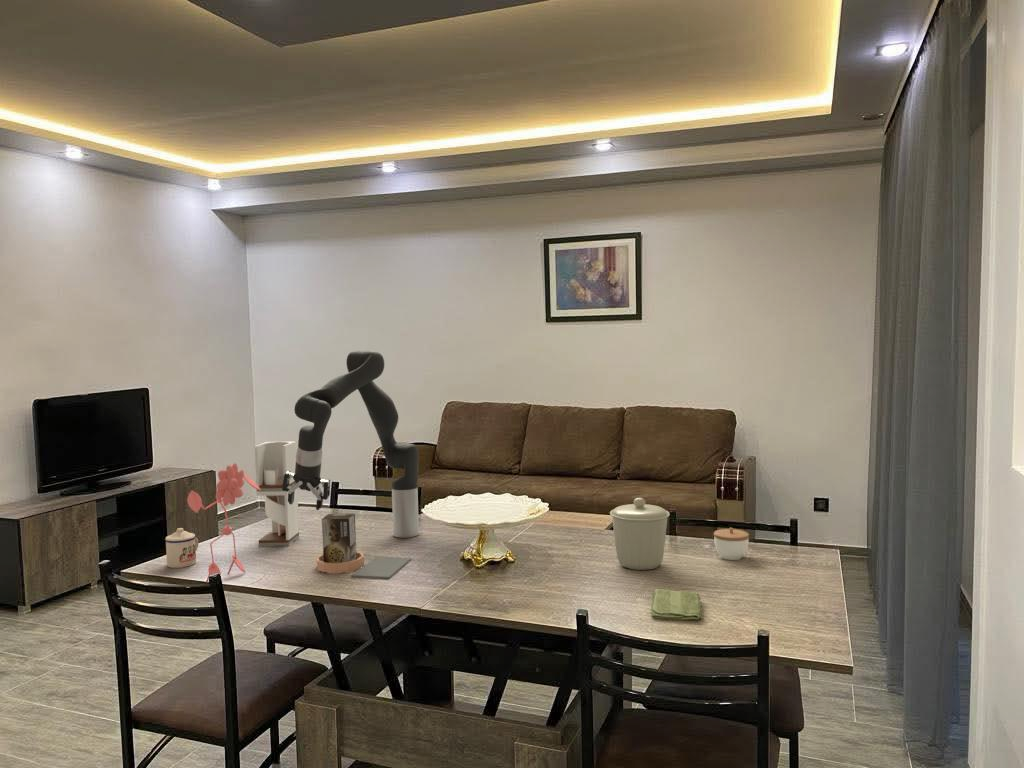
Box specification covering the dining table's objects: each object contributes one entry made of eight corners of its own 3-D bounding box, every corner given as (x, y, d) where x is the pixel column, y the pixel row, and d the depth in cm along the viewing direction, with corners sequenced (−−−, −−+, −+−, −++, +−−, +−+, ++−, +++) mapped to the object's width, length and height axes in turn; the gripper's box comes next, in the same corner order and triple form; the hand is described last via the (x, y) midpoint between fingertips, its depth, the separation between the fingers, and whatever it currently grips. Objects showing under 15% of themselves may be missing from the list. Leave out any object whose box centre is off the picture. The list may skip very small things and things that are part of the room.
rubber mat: (376, 558, 252) (376, 556, 252) (411, 559, 249) (411, 557, 249) (351, 577, 232) (351, 575, 232) (389, 578, 230) (389, 576, 230)
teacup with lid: (182, 569, 243) (180, 533, 243) (159, 567, 246) (158, 531, 246) (209, 559, 255) (207, 524, 254) (187, 556, 258) (185, 522, 257)
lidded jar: (713, 560, 242) (712, 531, 241) (714, 551, 252) (714, 523, 251) (748, 563, 239) (748, 533, 238) (749, 553, 249) (749, 525, 248)
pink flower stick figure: (182, 590, 222) (179, 470, 220) (244, 566, 246) (242, 456, 244) (224, 597, 216) (222, 473, 214) (284, 571, 240) (282, 459, 238)
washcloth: (649, 621, 193) (649, 609, 193) (652, 598, 210) (652, 586, 210) (703, 624, 190) (703, 611, 190) (701, 600, 207) (701, 588, 207)
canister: (678, 562, 241) (678, 495, 240) (655, 578, 226) (655, 506, 225) (625, 554, 251) (625, 489, 250) (600, 568, 236) (599, 500, 235)
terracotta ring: (329, 558, 252) (328, 549, 252) (370, 560, 249) (370, 551, 249) (308, 572, 238) (308, 562, 238) (352, 574, 235) (352, 564, 235)
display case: (270, 537, 281) (266, 441, 279) (299, 537, 281) (295, 441, 278) (258, 546, 270) (254, 446, 268) (288, 545, 269) (285, 445, 267)
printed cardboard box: (357, 563, 246) (356, 513, 245) (351, 569, 240) (349, 518, 239) (329, 563, 247) (328, 513, 246) (322, 569, 241) (321, 518, 240)
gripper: (335, 459, 237) (331, 504, 243) (290, 449, 238) (287, 495, 244) (327, 469, 230) (322, 516, 236) (281, 460, 231) (277, 507, 237)
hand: (304, 506), depth 240 cm, fingers open, 8 cm apart
